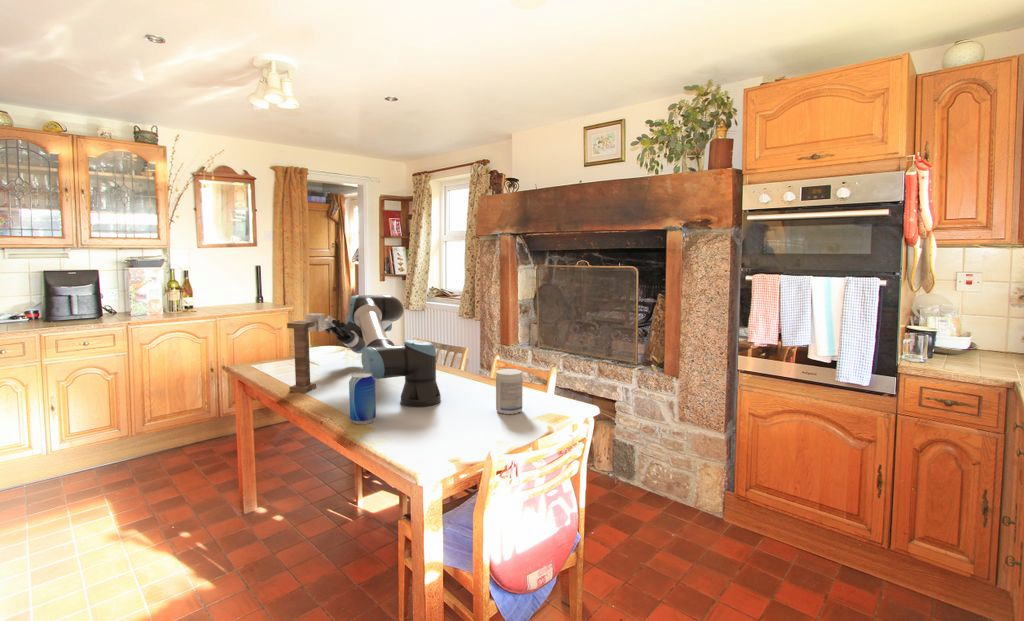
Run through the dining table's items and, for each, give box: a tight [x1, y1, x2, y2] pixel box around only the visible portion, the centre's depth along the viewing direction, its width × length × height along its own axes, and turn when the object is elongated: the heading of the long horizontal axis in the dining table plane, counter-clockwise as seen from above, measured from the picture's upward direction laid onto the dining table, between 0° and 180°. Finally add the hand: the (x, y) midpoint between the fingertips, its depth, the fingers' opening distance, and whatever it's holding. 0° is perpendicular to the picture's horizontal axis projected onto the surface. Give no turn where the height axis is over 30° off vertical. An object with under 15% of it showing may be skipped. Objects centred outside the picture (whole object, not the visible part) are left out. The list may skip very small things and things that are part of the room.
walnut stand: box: [286, 320, 317, 394], centre depth 209 cm, size 8×7×28 cm
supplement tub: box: [495, 368, 523, 415], centre depth 185 cm, size 10×10×15 cm
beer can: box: [348, 372, 377, 425], centre depth 172 cm, size 8×8×16 cm
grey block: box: [304, 312, 337, 333], centre depth 223 cm, size 16×6×7 cm, turn 169°
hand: (323, 318), depth 224 cm, fingers closed on grey block, 3 cm apart
